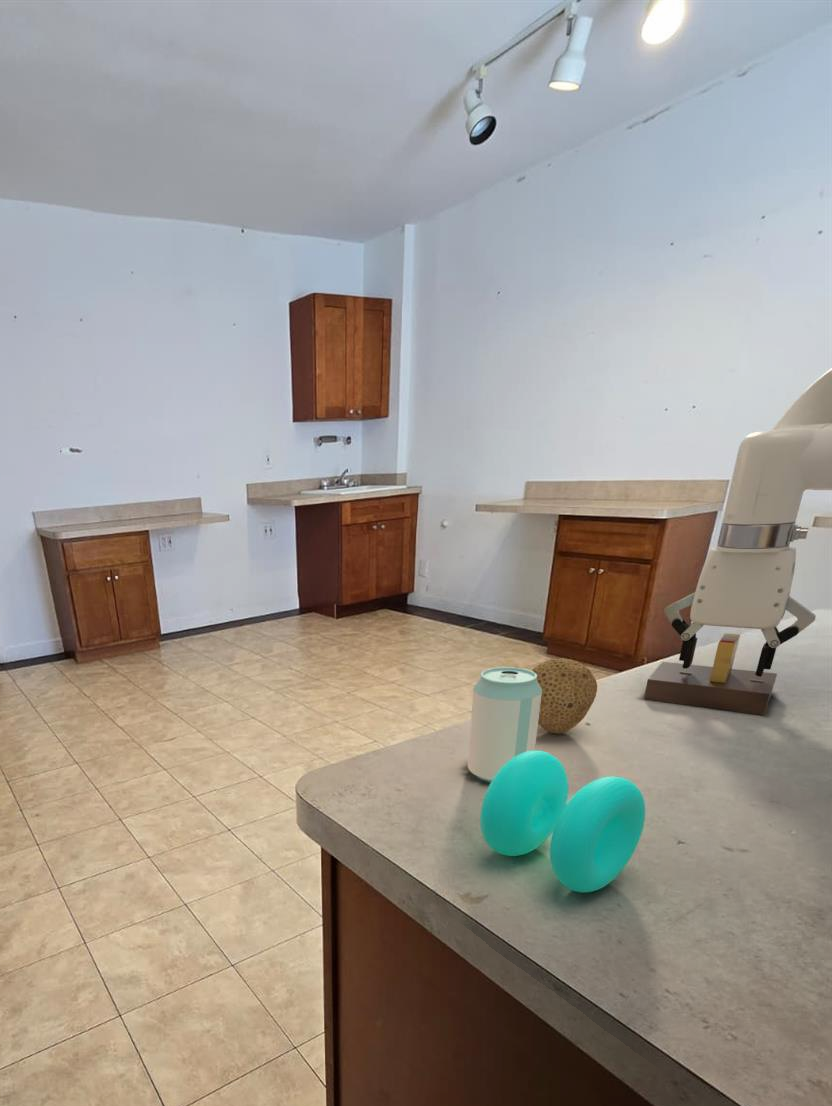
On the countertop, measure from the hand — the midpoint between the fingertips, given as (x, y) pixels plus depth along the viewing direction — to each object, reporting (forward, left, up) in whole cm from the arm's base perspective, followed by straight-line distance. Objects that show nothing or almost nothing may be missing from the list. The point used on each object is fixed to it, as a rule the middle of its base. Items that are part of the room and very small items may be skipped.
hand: (722, 669), depth 89 cm
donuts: (+5, +55, -4) cm, 55 cm away
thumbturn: (0, 0, -1) cm, 1 cm away
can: (+16, +39, -4) cm, 42 cm away
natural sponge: (+15, +24, -4) cm, 29 cm away
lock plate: (+1, 0, -4) cm, 4 cm away
